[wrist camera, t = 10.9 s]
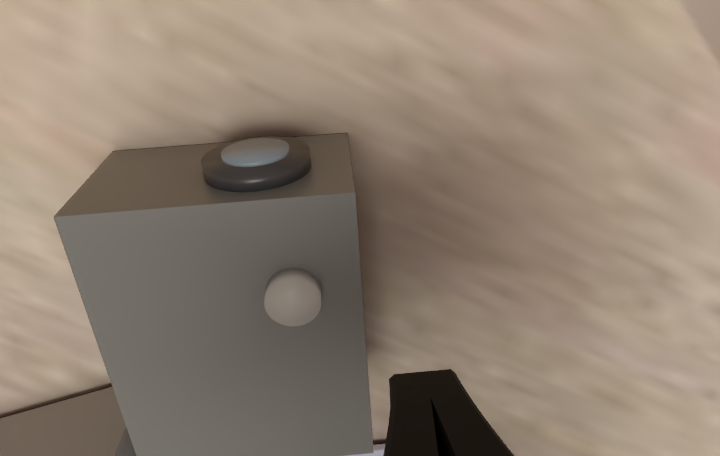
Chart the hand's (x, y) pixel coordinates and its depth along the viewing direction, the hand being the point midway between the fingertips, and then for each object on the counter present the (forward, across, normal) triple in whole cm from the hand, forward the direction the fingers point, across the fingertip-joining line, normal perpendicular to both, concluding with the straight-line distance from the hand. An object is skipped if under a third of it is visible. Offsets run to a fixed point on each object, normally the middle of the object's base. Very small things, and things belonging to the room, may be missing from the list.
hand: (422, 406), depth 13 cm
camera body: (+10, +5, +2) cm, 11 cm away
